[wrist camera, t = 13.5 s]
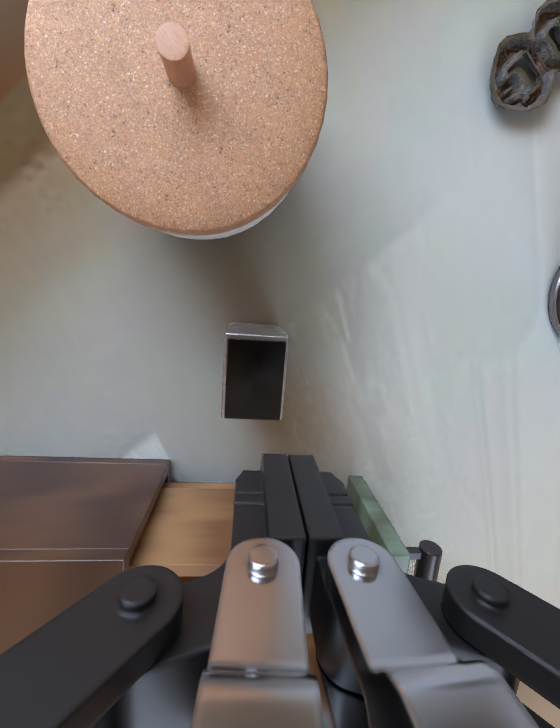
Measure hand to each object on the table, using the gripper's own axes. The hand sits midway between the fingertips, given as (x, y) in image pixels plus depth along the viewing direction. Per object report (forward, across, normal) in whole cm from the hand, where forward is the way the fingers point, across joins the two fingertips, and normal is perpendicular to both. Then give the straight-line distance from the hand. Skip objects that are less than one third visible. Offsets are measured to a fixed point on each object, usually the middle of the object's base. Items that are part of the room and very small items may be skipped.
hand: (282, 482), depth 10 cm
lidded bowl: (+17, +5, -14) cm, 23 cm away
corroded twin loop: (+17, -17, -22) cm, 33 cm away
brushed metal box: (+17, +1, -1) cm, 17 cm away
